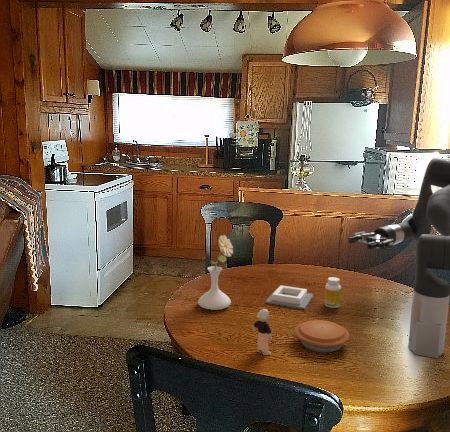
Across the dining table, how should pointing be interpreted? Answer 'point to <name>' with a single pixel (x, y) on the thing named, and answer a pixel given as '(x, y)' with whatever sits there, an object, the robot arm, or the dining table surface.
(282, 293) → the socket plate
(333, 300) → the supplement bottle
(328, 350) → the pie
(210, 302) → the flower in vase
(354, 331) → the dining table surface
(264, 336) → the grandmother figurine
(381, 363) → the dining table surface
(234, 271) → the dining table surface
